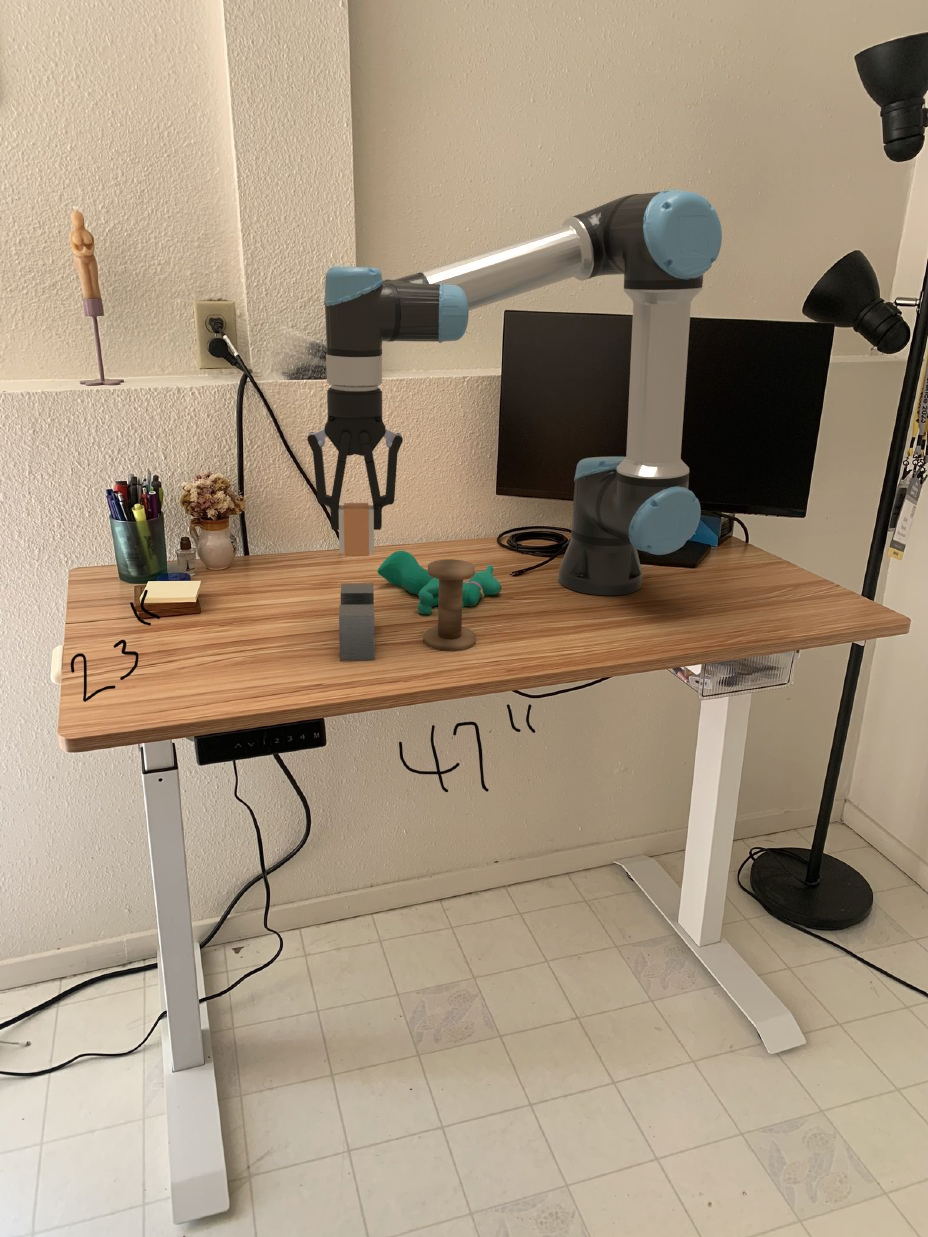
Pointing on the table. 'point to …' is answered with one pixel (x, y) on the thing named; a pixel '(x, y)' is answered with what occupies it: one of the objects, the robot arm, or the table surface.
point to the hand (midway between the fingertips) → (356, 550)
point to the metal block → (357, 622)
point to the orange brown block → (356, 529)
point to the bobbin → (450, 606)
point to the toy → (433, 581)
